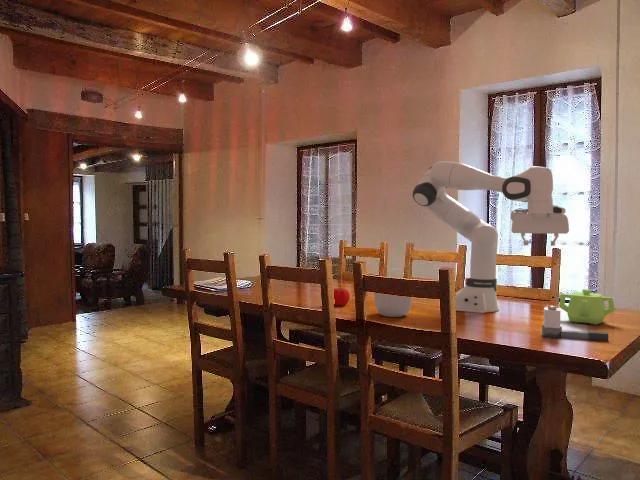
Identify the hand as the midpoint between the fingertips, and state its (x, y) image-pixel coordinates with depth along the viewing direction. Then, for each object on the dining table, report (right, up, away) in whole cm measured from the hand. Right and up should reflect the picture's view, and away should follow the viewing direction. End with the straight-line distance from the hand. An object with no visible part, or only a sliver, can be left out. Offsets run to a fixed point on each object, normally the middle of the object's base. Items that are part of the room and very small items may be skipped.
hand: (539, 245), depth 201 cm
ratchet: (+5, -32, -17) cm, 37 cm away
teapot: (+22, -31, +8) cm, 39 cm away
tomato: (-74, -29, +49) cm, 94 cm away
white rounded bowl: (-52, -30, +24) cm, 65 cm away
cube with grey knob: (-2, -28, -15) cm, 32 cm away
